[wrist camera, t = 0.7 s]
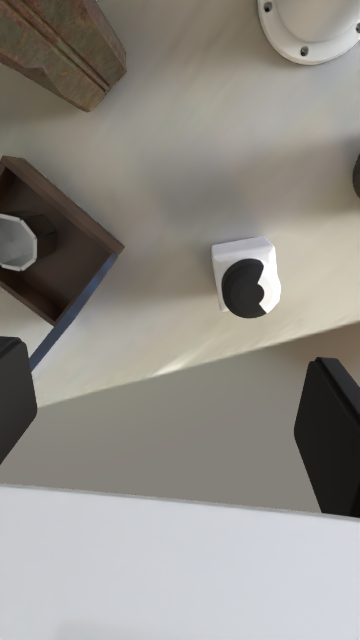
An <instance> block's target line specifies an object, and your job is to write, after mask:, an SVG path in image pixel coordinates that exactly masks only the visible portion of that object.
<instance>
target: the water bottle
mask: <svg viewBox="0 0 360 640" xmlns="http://www.w3.org/2000/svg"><path fill="white" fill-rule="evenodd" d="M353 185H354V189H355V192H356V194H357V195H358V197H359V198H360V155H359V157H358V159H357V161H356V163H355V166H354V171H353Z"/></svg>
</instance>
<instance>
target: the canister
mask: <svg viewBox="0 0 360 640" xmlns="http://www.w3.org/2000/svg"><path fill="white" fill-rule="evenodd" d="M125 54H126V52H125V50H124V48H123V46H122V44H121V42H120V40H119V38H118V37H117V35H116V34H115V32H114V30H113V29H112V27H111V26H110V24H109V23H108V21H107V19H106V18H105V16H104V14H103V13H102V11H101V9H100V8H99V6H98V4H97V3H96V1H95V0H0V62H1V63H3V64H5V65H6V66H8V67H10V68H12V69H15V70H16V71H18V72H20V73H21V74H23V75H25V76H26V77H28V78H30V79H31V80H33V81H35V82H36V83H38V84H40V85H41V86H43V87H44V88H46V89H48V90H49V91H51V92H53V93H54V94H56V95H58V96H59V97H61V98H63V99H64V100H66V101H68V102H69V103H71V104H73V105H74V106H76V107H77V108H79V109H81V110H82V111H85V112H90V111H92V110H93V108H94V107H95V106H96V105H97V104H98V103H99V102H100V101H101V99H102V98H103V97H104V96H105V95H106V94H105V91H107V92H109V91H110V88H109V86H113V85H114V84H115V83H116V82H117V81H118V80H119V79H120V78H121V77H122V76H124V74H125V73H126V72H127V71H126V62H125Z"/></svg>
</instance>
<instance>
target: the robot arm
mask: <svg viewBox="0 0 360 640" xmlns="http://www.w3.org/2000/svg"><path fill="white" fill-rule="evenodd" d="M257 2H258V13H259V17H260V22H261V26H262V28H263V30H264V33H265V35H266V37H267V39H268V40H269V42H270V43H271V45H272V46H273V48H274V49H275V50H276V51H277V52H278V53H280V54H281V55H282V56H283V57H285V58H287V59H288V60H290V61H292V62H296V63H299V64H306V65H315V64H320V63H325V62H328V61H330V60H333V59H335V58H337V57H339V56H340V55H342V54H344V53H345V52H347V51H348V50H349V49H350V48H352V47H353V46H354V45H355V44H356V43H357V42H358V41H359V40H360V0H257ZM266 8H267V9H268V10H269V12H265V11H264V9H266ZM356 29H358V30H359V33H357V32H356ZM300 52H304V56H301V55H300ZM36 414H37V403H36V397H35V391H34V385H33V380H32V374H31V368H30V363H29V357H28V351H27V346H26V344H25V343H24V342H22V341H21V339H20V338H18V337H4V336H0V464H1V463H2V461H3V460H4V459H5V457H6V456H7V455H8V454H9V452H10V451H11V450H12V448H13V447H14V446H15V444H16V443H17V441H18V440H19V439H20V437H21V436H22V435H23V433H24V432H25V431H26V429H27V428H28V427H29V425H30V424H31V422H32V421H33V420H34V418H35V417H36ZM294 437H295V440H296V443H297V446H298V449H299V452H300V454H301V457H302V460H303V462H304V465H305V468H306V471H307V474H308V476H309V479H310V482H311V484H312V487H313V490H314V493H315V495H316V498H317V501H318V504H319V507H320V509H321V512H322V513H314V512H304V511H295V510H286V509H277V508H266V507H256V506H246V505H235V504H225V503H215V502H204V501H194V500H184V499H172V498H163V497H152V496H139V495H130V494H119V493H108V492H96V491H86V490H75V489H63V488H52V487H40V486H28V485H16V484H5V483H0V640H360V387H359V386H358V385H357V383H356V382H355V381H354V380H353V378H352V377H351V376H350V374H349V373H348V372H347V371H346V369H345V368H344V367H343V366H342V364H341V363H340V362H339V360H338V359H336V358H321V357H317V358H316V359H315V361H311V362H310V363H309V365H308V369H307V373H306V378H305V382H304V386H303V391H302V396H301V399H300V404H299V409H298V413H297V417H296V421H295V426H294Z"/></svg>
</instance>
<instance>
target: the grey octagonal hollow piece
mask: <svg viewBox="0 0 360 640" xmlns="http://www.w3.org/2000/svg"><path fill="white" fill-rule="evenodd" d="M55 231H56V230H55V229H54V227H53V226H52V225H51V223H50V222H49V221H48V219H47V218H46V217H45V216H44V215H43V216H42V214H41V213H36V212H32V211H27V210H21V211H14V212H7V213H1V214H0V266H1V265H2V268H7V269H11V270H16V271H24V270H26V269H28V268H30V267H32V266H34V265H36V264H39V263H41V262H43V261H44V260H46V259H47V258H48V257H50V256H51V255H52V254H54V253H55V251H56V246H57V233H55Z"/></svg>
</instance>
